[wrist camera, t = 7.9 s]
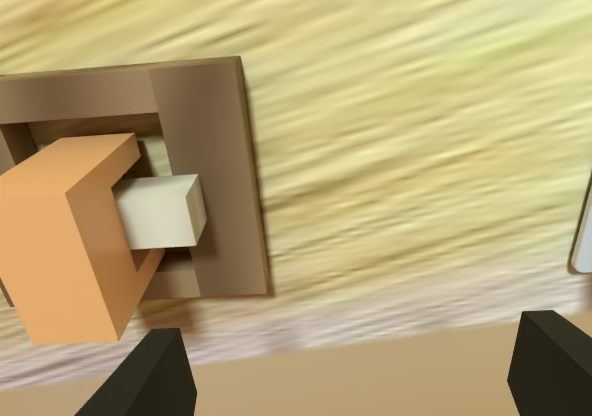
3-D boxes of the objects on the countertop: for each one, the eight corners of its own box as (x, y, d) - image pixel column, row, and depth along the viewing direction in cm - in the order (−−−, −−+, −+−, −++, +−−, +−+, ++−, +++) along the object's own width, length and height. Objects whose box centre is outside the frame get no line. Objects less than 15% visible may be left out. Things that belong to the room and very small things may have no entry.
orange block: (134, 132, 17) (64, 192, 12) (165, 251, 19) (118, 340, 14) (60, 137, 17) (-39, 199, 12) (101, 255, 19) (33, 344, 15)
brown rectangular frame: (239, 55, 16) (224, 72, 13) (269, 273, 20) (262, 325, 17) (-68, 80, 16) (-154, 102, 13) (28, 286, 21) (-19, 338, 18)
